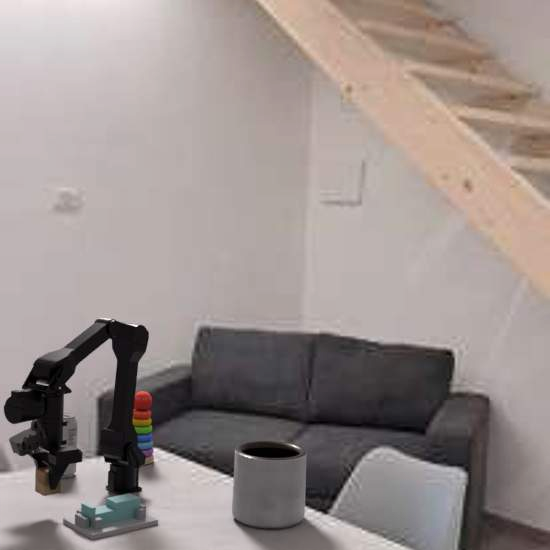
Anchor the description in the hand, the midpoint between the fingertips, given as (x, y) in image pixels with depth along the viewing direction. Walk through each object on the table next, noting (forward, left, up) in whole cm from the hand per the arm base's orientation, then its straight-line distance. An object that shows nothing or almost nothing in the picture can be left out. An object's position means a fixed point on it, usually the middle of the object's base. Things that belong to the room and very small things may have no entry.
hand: (48, 487), depth 206 cm
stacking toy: (-39, -24, -6) cm, 46 cm away
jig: (-8, +12, -6) cm, 16 cm away
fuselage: (-8, +12, -5) cm, 16 cm away
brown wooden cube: (0, 0, -1) cm, 1 cm away
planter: (-38, +29, -6) cm, 48 cm away
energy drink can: (-17, -24, -6) cm, 30 cm away
